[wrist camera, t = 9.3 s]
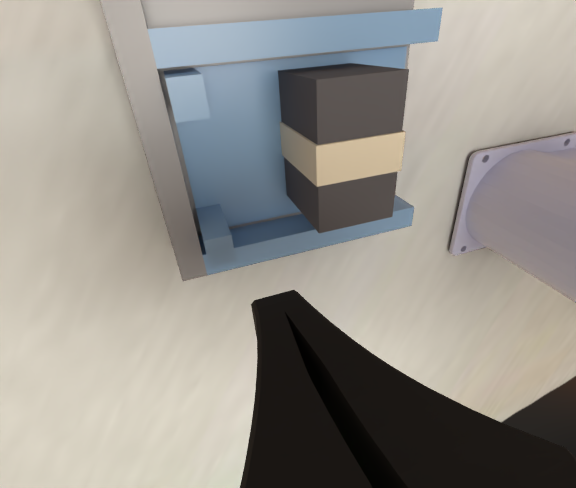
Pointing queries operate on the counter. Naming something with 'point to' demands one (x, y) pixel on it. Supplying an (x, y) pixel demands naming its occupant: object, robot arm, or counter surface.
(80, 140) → the counter surface
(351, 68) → the dark striped block
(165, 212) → the board
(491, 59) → the counter surface
